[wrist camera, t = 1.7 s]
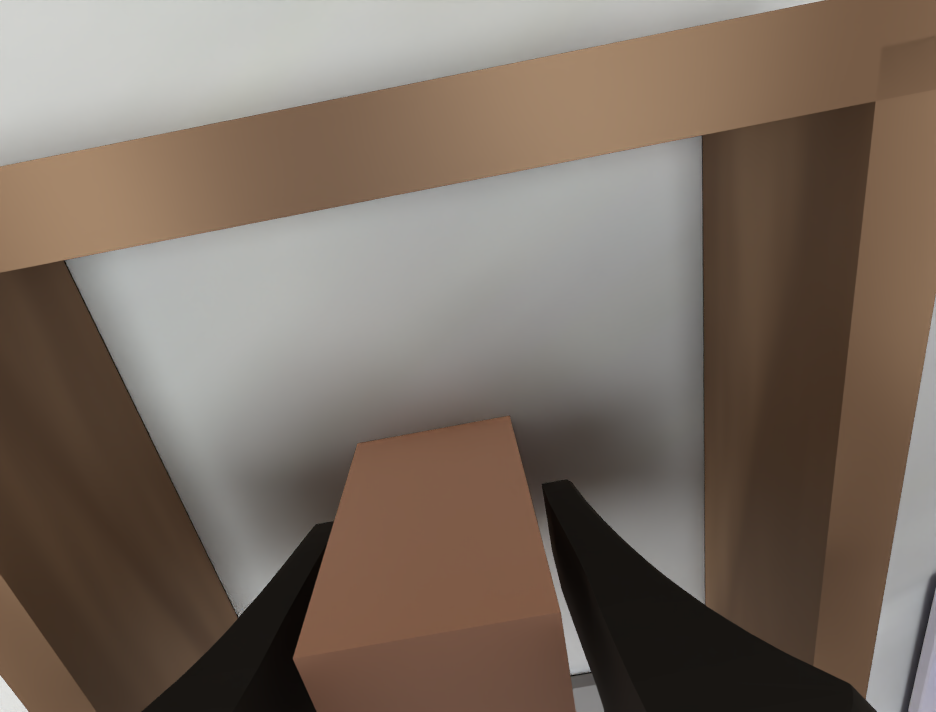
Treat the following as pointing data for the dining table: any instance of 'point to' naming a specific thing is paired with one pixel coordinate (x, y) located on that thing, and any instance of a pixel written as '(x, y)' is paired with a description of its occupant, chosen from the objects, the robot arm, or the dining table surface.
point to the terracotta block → (436, 584)
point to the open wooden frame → (474, 157)
